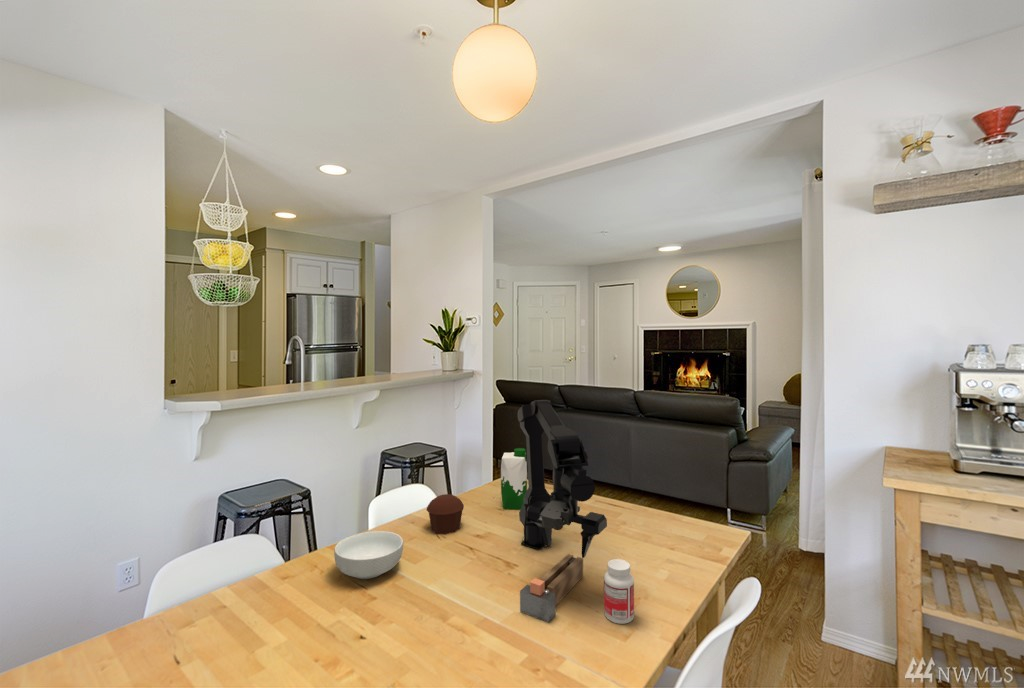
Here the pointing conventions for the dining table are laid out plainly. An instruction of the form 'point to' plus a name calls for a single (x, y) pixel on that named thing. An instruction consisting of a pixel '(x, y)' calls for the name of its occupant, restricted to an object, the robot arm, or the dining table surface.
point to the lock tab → (537, 587)
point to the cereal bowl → (368, 553)
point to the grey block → (537, 604)
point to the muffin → (445, 514)
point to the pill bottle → (619, 592)
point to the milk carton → (513, 479)
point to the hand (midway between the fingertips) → (565, 552)
